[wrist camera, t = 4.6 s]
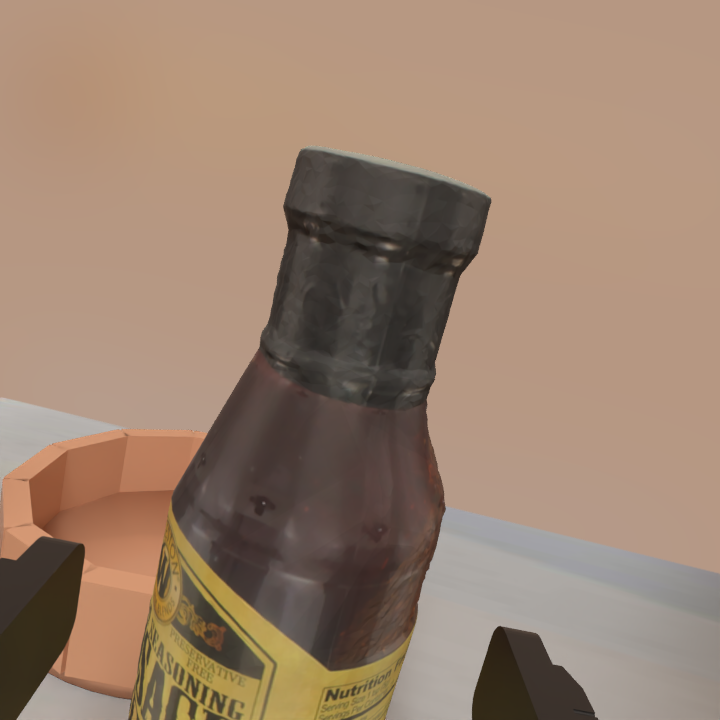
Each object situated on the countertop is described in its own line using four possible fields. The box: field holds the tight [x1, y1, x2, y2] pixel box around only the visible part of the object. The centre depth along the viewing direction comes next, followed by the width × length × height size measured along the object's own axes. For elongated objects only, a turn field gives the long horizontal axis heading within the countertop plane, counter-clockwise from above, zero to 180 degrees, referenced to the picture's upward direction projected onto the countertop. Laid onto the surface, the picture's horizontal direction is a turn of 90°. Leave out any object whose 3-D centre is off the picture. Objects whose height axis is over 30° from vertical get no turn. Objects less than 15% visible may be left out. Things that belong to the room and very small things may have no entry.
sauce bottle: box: [128, 146, 491, 720], centre depth 14 cm, size 6×6×20 cm
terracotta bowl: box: [0, 429, 208, 699], centre depth 29 cm, size 16×16×4 cm
